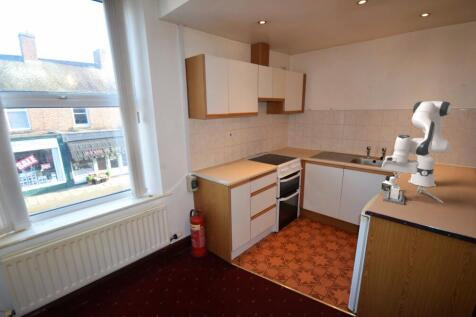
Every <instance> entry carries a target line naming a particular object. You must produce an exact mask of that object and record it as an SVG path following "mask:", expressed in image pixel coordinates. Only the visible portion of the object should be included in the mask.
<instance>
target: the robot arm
mask: <svg viewBox="0 0 476 317" xmlns="http://www.w3.org/2000/svg"><path fill="white" fill-rule="evenodd" d="M412 107H413V108H412V113H413V115H412V117H411V124H413V126H415V127H416V128H418V129H420V130H422V132H423V133H424V137H414V138H411V137H412V136H411V135H408V134H400V135H397V137H396V139H395V142H394V148H393V149H394V151H393V153H392V155H386V156H385V157H384V160H383V161H382V164H381V170H383V171H389V172H393V175H394V177H395V179H400V178H401V176H402V175H403V174H404V173H405V174H410V179H408V180H407V182H408V183H409V184H412V185H416V186H418V187H419V186H420V185H421V186H423V187H425V188H426V187H427V188H428V187H429V188H431V187H437V184H436V183H435V179H436V176H435V175H434V169H435V168H434V167H435V159H434V157H432V156H430V154H431V153H436V154H446V153H447V152H449V151H450V149H451V148H452V147H451V143H450V141H449V140H448V139H446V138H445V137H444V136H443V133H442V127H443V119H444V117H445V116H447V115H449V114H450V113H451V111H452V104H451V103H450V102H449V101H445V100H444V101H441V100H429V101H428V100H427V101H417V102H416V103H414V105H413V106H412ZM410 154H411V155H416V157H417V158H416V160H415V159H414V160H413V159H409V156H410ZM396 173H399V174H396Z"/></svg>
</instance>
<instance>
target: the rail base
mask: <svg viewBox="0 0 476 317" xmlns="http://www.w3.org/2000/svg"><path fill="white" fill-rule="evenodd" d="M387 192H388V191H384V194H383V198H382V201H383V202H388V203H391V202H392V204H396V205H400V206H401V205H402V206H404V205H405V194H403V193H402V199H401V202H399V198H400V193H399V194H398V199H394V198H390V194H391V192H389V196H388V200H387V199H386V197H387Z"/></svg>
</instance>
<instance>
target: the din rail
mask: <svg viewBox="0 0 476 317" xmlns="http://www.w3.org/2000/svg"><path fill="white" fill-rule="evenodd" d="M389 191H390V189H388V192H387V197H386V199H387V200H388V196H389ZM399 194H400V198H399V202H401V199H402V194H403V191H402V190H399Z"/></svg>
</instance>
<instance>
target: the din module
mask: <svg viewBox="0 0 476 317" xmlns="http://www.w3.org/2000/svg"><path fill="white" fill-rule="evenodd" d="M398 194H400V186H398V185H397V186H394V185H392V188H391V194H390V198H394V199H398Z"/></svg>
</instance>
